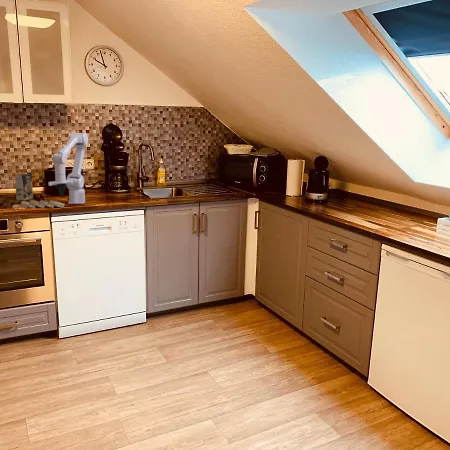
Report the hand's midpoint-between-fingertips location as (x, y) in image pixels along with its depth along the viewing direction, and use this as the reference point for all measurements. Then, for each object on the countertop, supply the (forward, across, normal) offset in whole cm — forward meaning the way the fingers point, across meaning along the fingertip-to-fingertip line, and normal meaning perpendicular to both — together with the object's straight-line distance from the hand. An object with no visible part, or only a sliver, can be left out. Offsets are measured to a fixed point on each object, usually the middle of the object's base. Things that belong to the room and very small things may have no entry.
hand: (61, 196), depth 283 cm
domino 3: (+6, +3, -3) cm, 7 cm away
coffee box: (+7, +5, -38) cm, 38 cm away
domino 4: (+6, -1, +1) cm, 6 cm away
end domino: (+6, +15, -12) cm, 20 cm away
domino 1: (+6, +12, -9) cm, 16 cm away
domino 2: (+6, +8, -6) cm, 11 cm away
